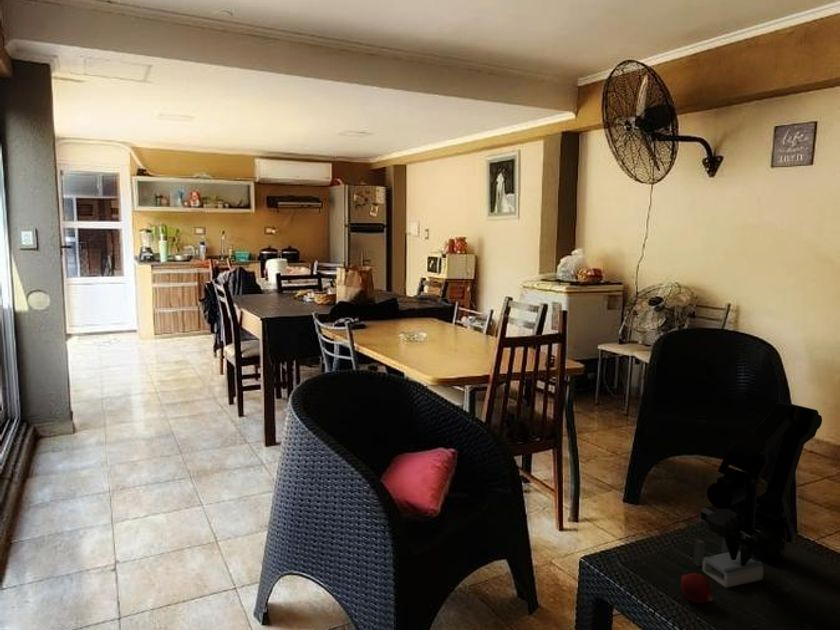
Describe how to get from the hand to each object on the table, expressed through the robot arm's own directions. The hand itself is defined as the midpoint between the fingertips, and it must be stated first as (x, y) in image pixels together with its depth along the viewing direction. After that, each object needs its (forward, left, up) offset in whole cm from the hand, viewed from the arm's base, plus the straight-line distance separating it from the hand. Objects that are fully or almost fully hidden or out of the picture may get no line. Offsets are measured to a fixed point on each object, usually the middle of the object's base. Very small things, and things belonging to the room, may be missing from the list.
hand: (738, 562), depth 142 cm
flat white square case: (0, -3, -4) cm, 5 cm away
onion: (+16, 0, -1) cm, 16 cm away
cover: (0, -1, -1) cm, 2 cm away
